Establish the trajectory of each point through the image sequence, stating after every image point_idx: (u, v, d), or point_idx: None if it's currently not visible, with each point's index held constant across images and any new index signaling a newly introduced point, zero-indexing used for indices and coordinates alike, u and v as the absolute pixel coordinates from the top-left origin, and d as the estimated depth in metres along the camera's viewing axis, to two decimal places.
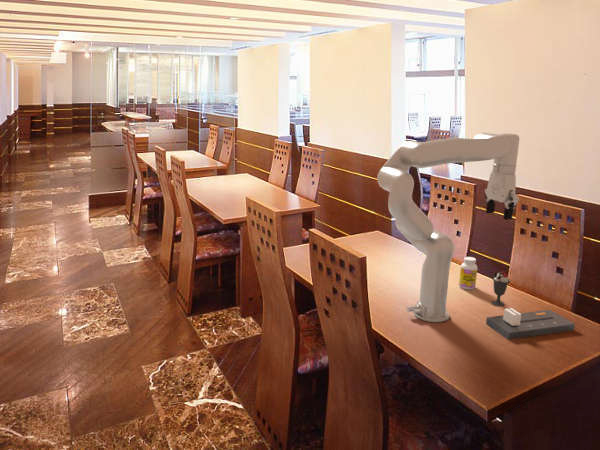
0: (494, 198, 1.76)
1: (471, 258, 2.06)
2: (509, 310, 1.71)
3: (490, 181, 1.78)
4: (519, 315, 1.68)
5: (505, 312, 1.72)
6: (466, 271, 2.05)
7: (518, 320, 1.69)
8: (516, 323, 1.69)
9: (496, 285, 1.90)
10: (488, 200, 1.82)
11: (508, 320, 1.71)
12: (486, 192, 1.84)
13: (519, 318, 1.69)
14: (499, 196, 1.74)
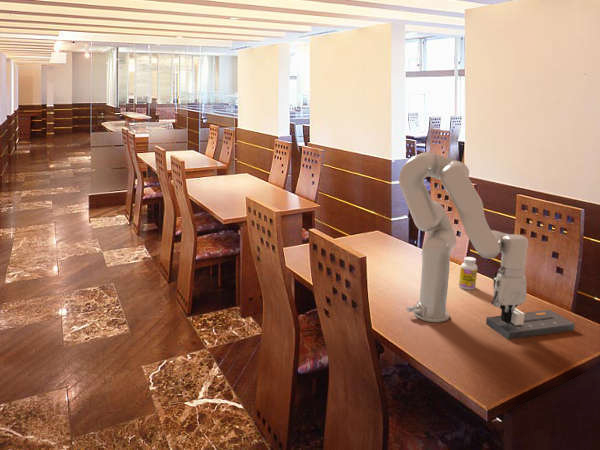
0: (514, 303, 1.66)
1: (471, 258, 2.06)
2: None
3: (507, 288, 1.64)
4: (522, 314, 1.69)
5: None
6: (466, 271, 2.05)
7: (521, 320, 1.69)
8: (519, 323, 1.69)
9: None
10: (507, 308, 1.68)
11: (511, 320, 1.71)
12: (499, 305, 1.67)
13: (522, 318, 1.69)
14: (521, 299, 1.66)
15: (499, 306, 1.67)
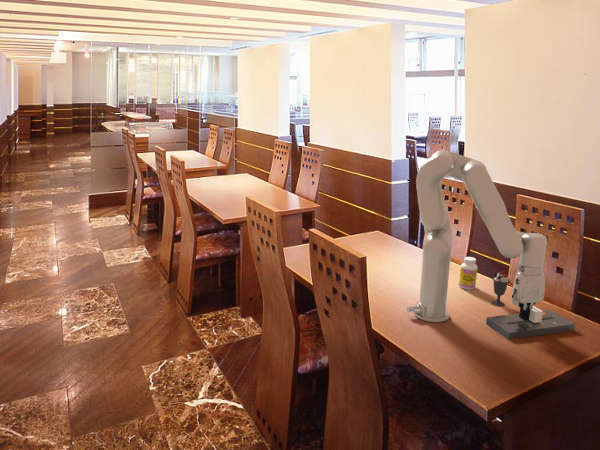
0: (533, 300, 1.68)
1: (471, 258, 2.06)
2: None
3: (526, 286, 1.66)
4: (540, 312, 1.71)
5: None
6: (466, 271, 2.05)
7: (539, 317, 1.71)
8: (537, 320, 1.71)
9: (496, 285, 1.90)
10: (526, 306, 1.70)
11: (529, 317, 1.73)
12: (517, 303, 1.69)
13: (540, 315, 1.71)
14: (539, 296, 1.68)
15: (518, 304, 1.69)
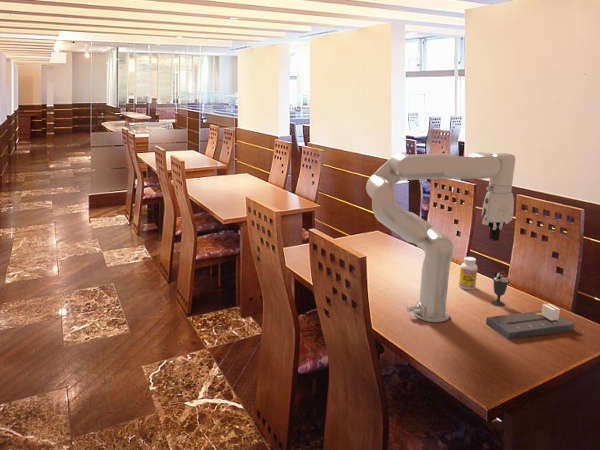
0: (502, 220, 1.72)
1: (471, 258, 2.06)
2: (547, 305, 1.75)
3: (495, 205, 1.70)
4: (557, 310, 1.73)
5: (543, 308, 1.76)
6: (466, 271, 2.05)
7: (557, 315, 1.73)
8: (555, 318, 1.73)
9: (496, 285, 1.90)
10: (495, 226, 1.74)
11: (547, 315, 1.75)
12: (487, 223, 1.73)
13: (558, 313, 1.73)
14: (508, 216, 1.72)
15: (487, 224, 1.73)
